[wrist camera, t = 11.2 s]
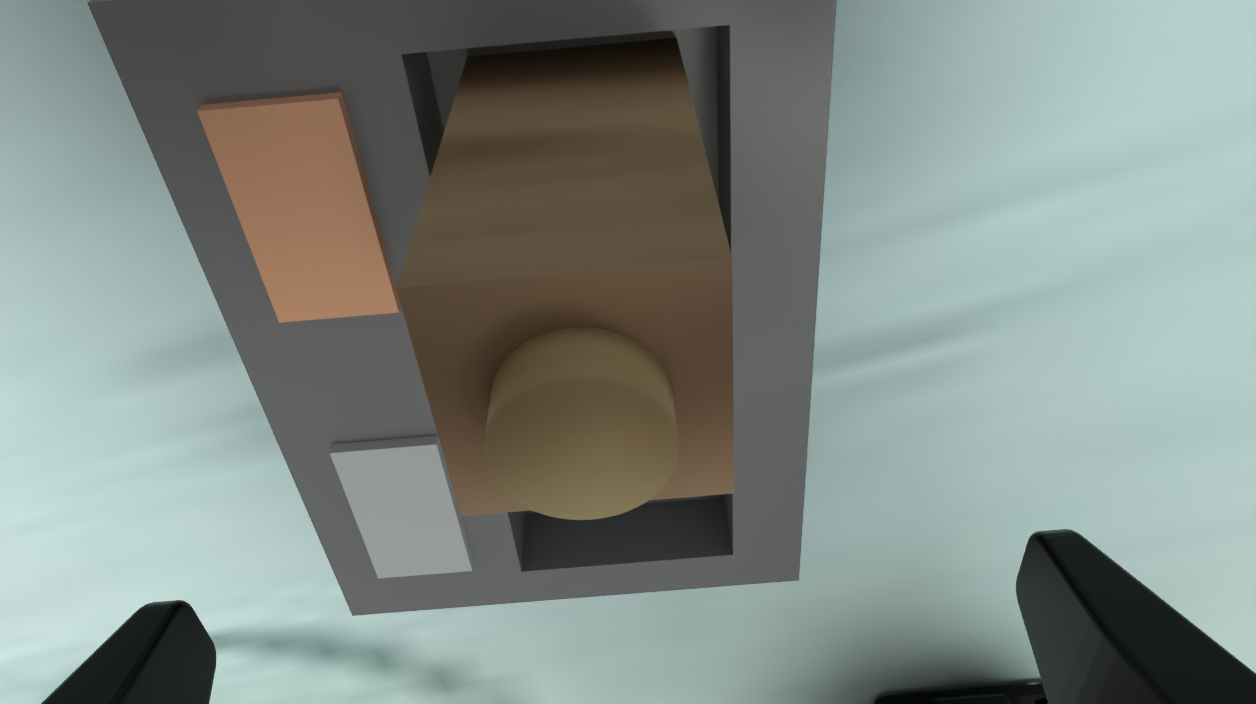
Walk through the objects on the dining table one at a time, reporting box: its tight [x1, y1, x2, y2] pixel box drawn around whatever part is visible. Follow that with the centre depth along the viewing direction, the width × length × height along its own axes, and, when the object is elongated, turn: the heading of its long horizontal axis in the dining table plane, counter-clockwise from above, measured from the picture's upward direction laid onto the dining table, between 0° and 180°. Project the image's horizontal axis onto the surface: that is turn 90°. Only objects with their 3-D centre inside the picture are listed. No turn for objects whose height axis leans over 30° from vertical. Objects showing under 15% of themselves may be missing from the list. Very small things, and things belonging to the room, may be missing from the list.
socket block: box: [88, 0, 836, 616], centre depth 20 cm, size 16×12×3 cm
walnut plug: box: [396, 38, 734, 520], centre depth 15 cm, size 4×4×9 cm
